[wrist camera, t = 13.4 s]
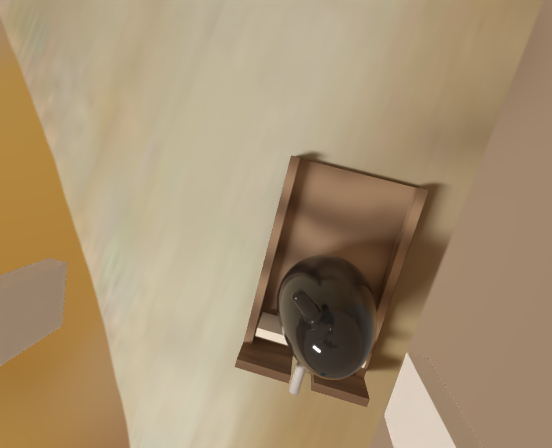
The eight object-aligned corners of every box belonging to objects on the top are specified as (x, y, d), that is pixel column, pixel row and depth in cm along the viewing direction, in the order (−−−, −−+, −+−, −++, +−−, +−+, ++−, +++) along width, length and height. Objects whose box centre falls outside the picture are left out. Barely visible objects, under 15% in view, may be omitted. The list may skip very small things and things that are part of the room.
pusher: (262, 311, 38) (257, 327, 34) (360, 340, 37) (366, 360, 33) (248, 367, 39) (241, 388, 35) (341, 395, 38) (345, 421, 34)
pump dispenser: (335, 230, 36) (358, 260, 21) (381, 304, 36) (436, 386, 21) (263, 273, 37) (235, 331, 22) (308, 344, 37) (310, 447, 22)
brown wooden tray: (292, 156, 35) (288, 153, 29) (420, 189, 34) (443, 192, 28) (245, 338, 40) (234, 366, 34) (358, 371, 39) (366, 407, 33)
